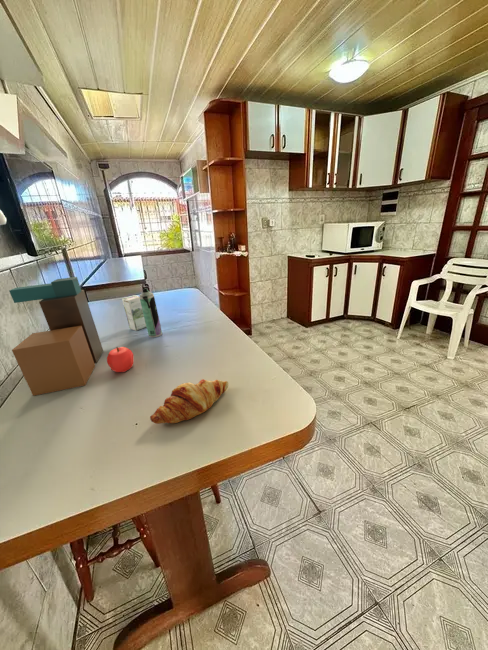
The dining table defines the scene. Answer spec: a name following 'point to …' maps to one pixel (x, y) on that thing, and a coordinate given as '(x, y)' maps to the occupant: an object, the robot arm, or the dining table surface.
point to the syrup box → (134, 312)
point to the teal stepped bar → (46, 290)
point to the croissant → (189, 401)
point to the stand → (73, 318)
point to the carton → (55, 360)
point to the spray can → (150, 313)
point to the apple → (120, 359)
